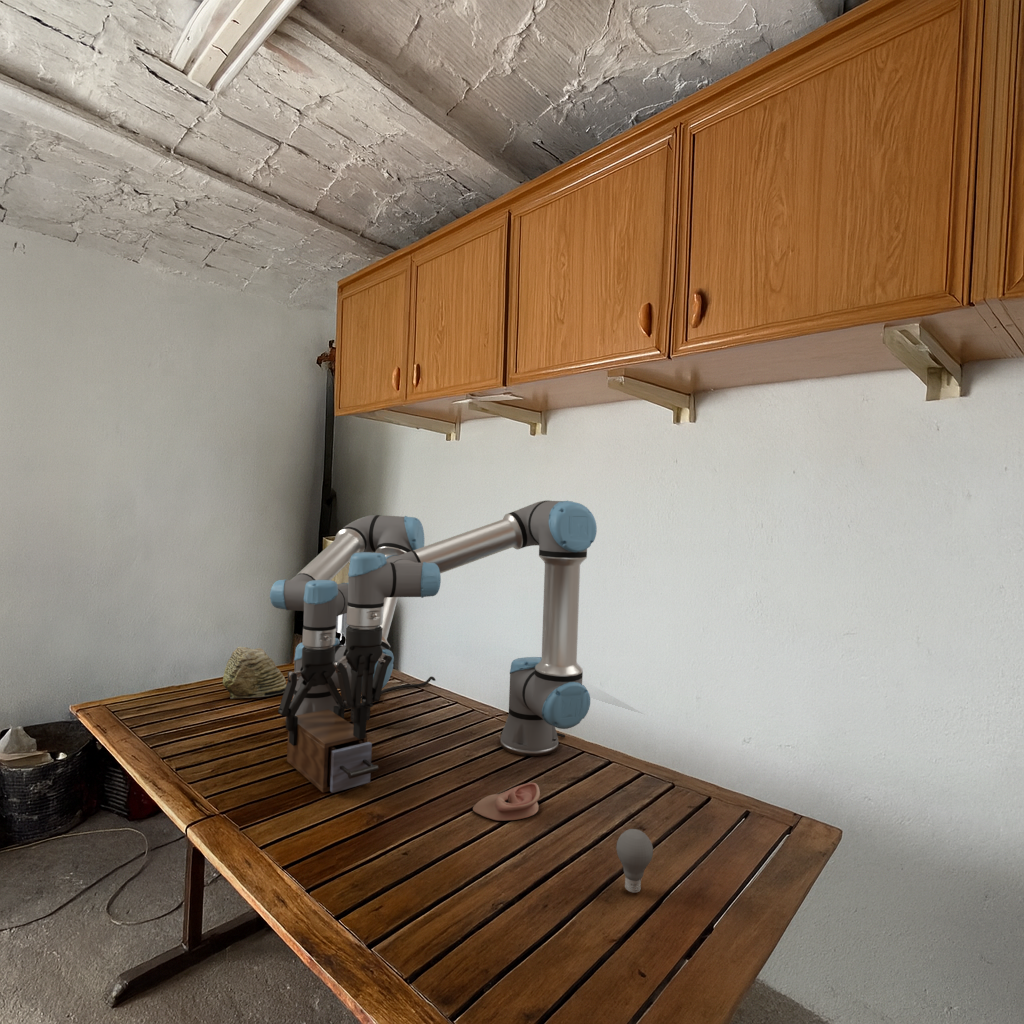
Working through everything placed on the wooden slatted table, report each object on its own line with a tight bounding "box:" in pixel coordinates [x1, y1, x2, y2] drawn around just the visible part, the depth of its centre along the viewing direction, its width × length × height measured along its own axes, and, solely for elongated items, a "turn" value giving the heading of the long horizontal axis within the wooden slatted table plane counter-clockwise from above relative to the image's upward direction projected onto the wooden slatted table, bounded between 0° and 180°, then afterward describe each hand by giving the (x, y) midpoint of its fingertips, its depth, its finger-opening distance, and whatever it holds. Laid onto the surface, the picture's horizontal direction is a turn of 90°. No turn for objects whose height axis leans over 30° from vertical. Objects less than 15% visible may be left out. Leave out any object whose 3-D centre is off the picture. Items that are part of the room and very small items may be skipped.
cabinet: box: [286, 709, 368, 793], centre depth 146 cm, size 20×10×11 cm, turn 41°
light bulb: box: [615, 828, 654, 894], centre depth 106 cm, size 6×6×10 cm
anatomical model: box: [472, 782, 541, 822], centre depth 132 cm, size 13×4×12 cm
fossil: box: [222, 646, 287, 699], centre depth 198 cm, size 9×18×15 cm, turn 132°
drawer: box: [327, 740, 379, 794], centre depth 141 cm, size 24×9×9 cm, turn 41°
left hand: (315, 738), depth 151 cm, fingers closed on cabinet, 10 cm apart
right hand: (359, 736), depth 134 cm, fingers closed
